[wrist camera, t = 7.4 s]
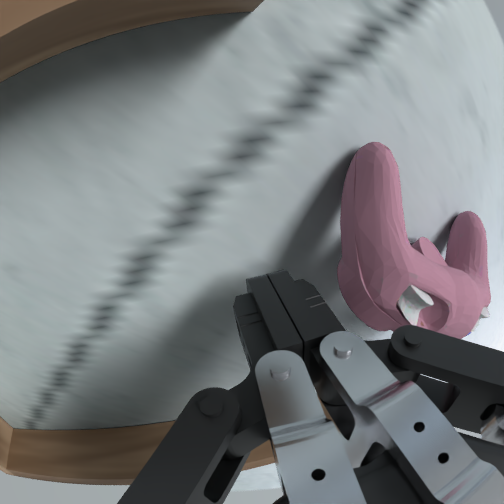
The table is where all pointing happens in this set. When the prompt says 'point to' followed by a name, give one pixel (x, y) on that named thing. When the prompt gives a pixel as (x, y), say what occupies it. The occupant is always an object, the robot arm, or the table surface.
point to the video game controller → (406, 257)
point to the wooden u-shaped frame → (4, 66)
